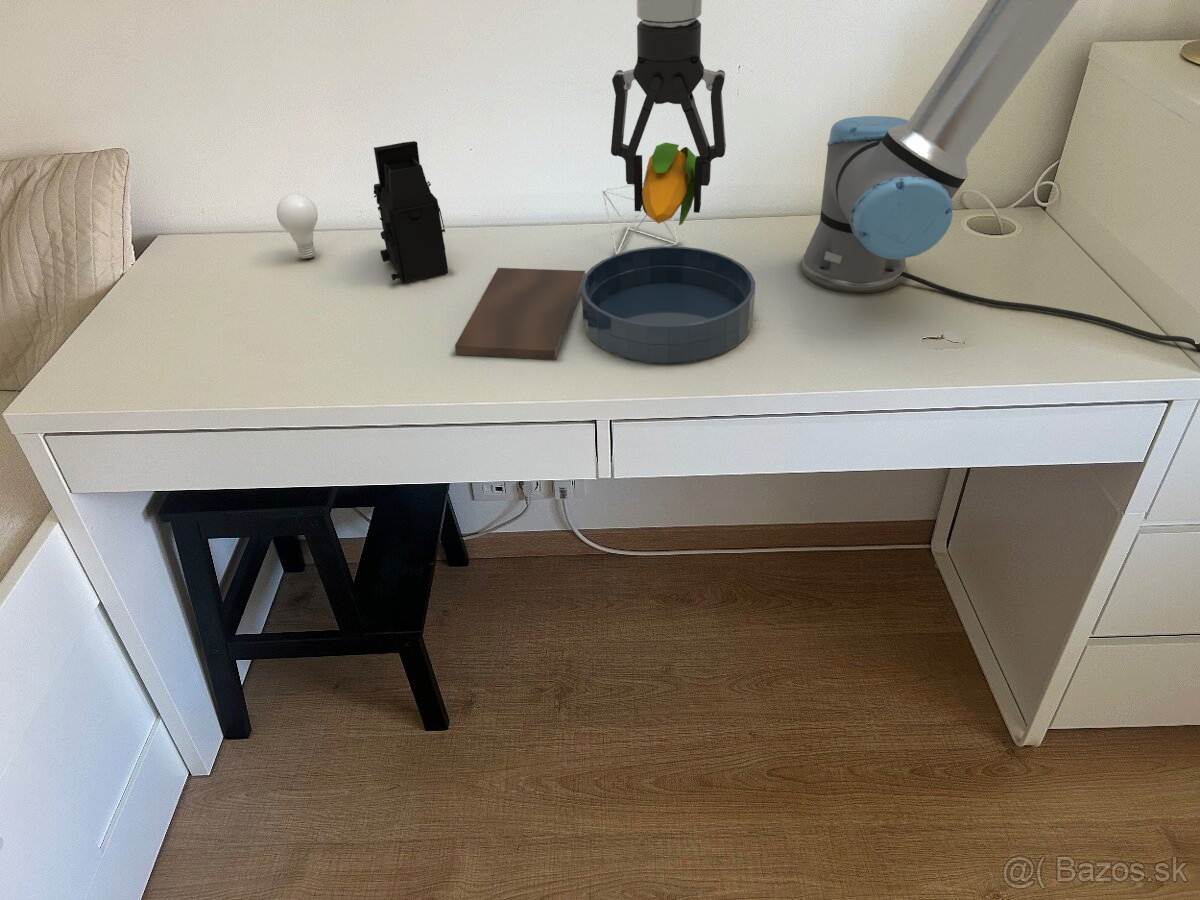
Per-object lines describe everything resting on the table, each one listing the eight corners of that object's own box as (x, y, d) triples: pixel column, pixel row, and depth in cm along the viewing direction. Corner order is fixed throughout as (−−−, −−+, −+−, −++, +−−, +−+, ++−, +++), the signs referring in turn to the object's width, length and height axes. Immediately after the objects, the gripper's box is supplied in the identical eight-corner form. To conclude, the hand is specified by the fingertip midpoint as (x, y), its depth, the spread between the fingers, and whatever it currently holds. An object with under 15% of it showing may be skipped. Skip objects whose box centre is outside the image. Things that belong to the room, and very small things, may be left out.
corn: (699, 128, 122) (690, 182, 106) (702, 182, 126) (693, 243, 110) (645, 131, 123) (628, 186, 107) (650, 185, 127) (634, 245, 112)
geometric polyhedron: (598, 234, 154) (596, 182, 148) (657, 223, 156) (657, 172, 151) (622, 264, 144) (620, 210, 139) (685, 252, 147) (686, 199, 141)
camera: (431, 243, 154) (412, 123, 141) (456, 273, 144) (437, 148, 131) (374, 255, 150) (349, 135, 138) (395, 288, 140) (370, 161, 128)
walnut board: (585, 279, 140) (585, 270, 139) (555, 359, 122) (554, 350, 121) (498, 276, 142) (497, 267, 142) (456, 354, 124) (454, 345, 123)
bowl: (754, 285, 137) (756, 248, 133) (750, 370, 118) (753, 330, 114) (597, 279, 140) (596, 243, 136) (569, 361, 121) (566, 322, 118)
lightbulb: (335, 254, 151) (321, 191, 145) (307, 269, 147) (291, 205, 140) (309, 247, 154) (293, 184, 147) (281, 261, 150) (263, 198, 143)
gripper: (756, 11, 106) (745, 198, 120) (590, 13, 109) (597, 195, 123) (754, 26, 100) (743, 221, 114) (579, 27, 103) (588, 217, 117)
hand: (667, 207), depth 119 cm, fingers closed on corn, 7 cm apart
